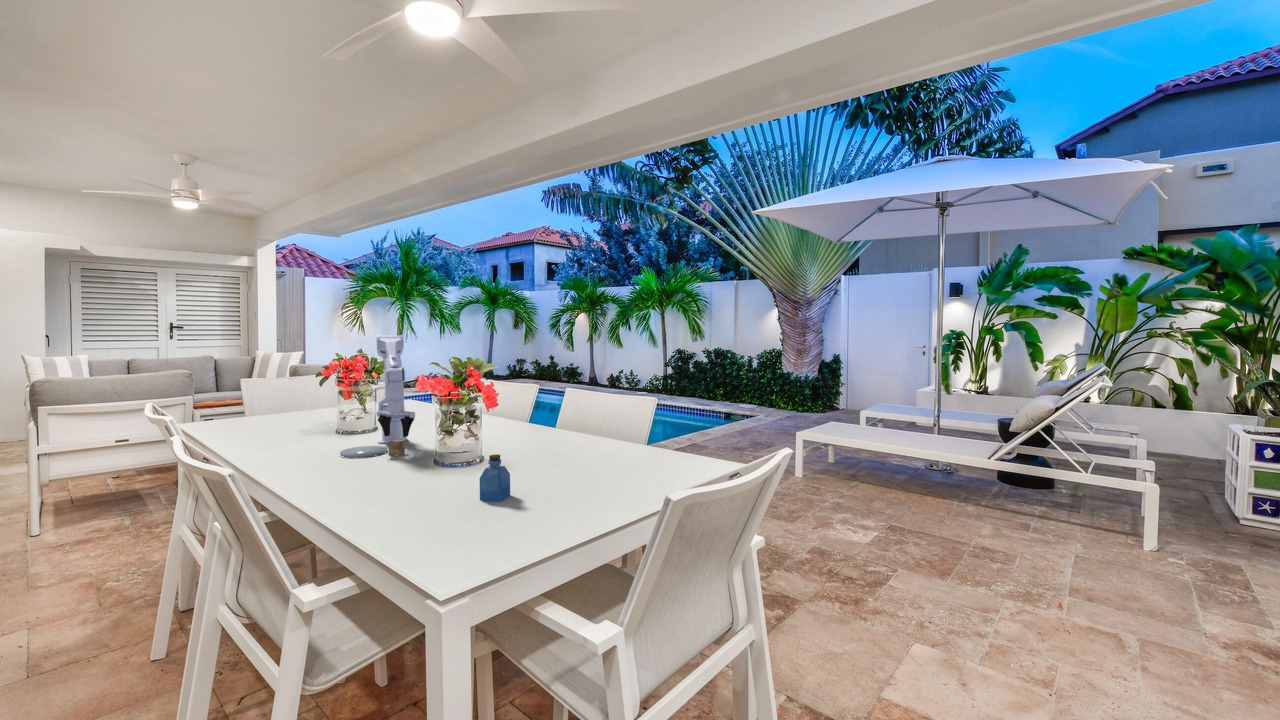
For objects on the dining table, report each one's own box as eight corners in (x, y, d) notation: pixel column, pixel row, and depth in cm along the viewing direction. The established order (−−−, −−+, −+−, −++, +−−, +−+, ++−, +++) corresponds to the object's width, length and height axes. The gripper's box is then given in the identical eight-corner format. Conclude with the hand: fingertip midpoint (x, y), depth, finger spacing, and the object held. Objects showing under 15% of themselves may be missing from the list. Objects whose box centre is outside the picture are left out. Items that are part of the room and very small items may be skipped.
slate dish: (359, 447, 220) (359, 445, 220) (396, 449, 217) (396, 446, 217) (329, 456, 204) (329, 454, 204) (369, 459, 201) (369, 456, 201)
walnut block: (395, 452, 212) (395, 439, 211) (404, 453, 211) (404, 440, 211) (388, 455, 208) (388, 441, 207) (398, 455, 207) (398, 442, 207)
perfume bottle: (500, 501, 154) (500, 458, 153) (479, 500, 155) (479, 457, 154) (510, 495, 160) (509, 453, 159) (490, 493, 161) (489, 452, 160)
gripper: (371, 400, 205) (372, 437, 206) (406, 402, 203) (407, 439, 204) (383, 398, 212) (384, 433, 213) (418, 399, 210) (418, 435, 211)
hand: (396, 436), depth 209 cm, fingers open, 7 cm apart
